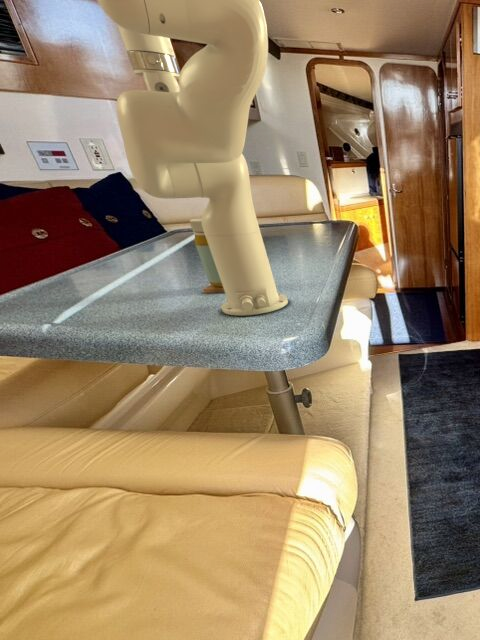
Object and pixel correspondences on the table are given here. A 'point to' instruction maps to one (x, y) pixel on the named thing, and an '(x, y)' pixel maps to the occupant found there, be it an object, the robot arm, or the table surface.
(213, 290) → the trivet
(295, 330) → the table surface
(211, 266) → the bottle
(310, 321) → the table surface
